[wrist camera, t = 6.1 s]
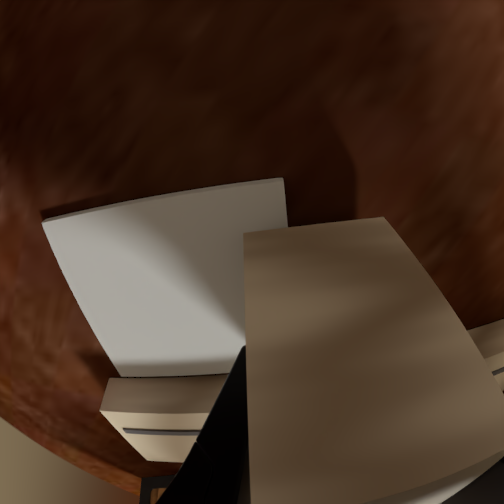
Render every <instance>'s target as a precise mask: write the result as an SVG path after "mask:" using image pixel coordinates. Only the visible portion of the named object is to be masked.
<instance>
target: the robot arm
mask: <svg viewBox="0 0 504 504" xmlns="http://www.w3.org/2000/svg"><path fill="white" fill-rule="evenodd" d="M196 441H197V442H194V444H193V446H192V448H191V450H190V452H189V454H188V455H187V457H186V459H185V461H184V462H183V464H182V466H181V468H180V469H179V471H178V472H177V474H176V475H175V477H174V478H173V480H172V481H171V482H170V484H169V485H168V487H167V488H166V489H165V491H164V492H163V493H162V495H161V496H160V497H159V499H158V500H157V502H156V503H155V504H251V493H250V466H249V437H248V406H247V372H246V345H244V346H242V348H241V349H240V352H239V354H238V356H237V358H236V360H235V362H234V364H233V366H232V368H231V370H230V372H229V374H228V376H227V378H226V380H225V382H224V384H223V386H222V389H221V391H220V393H219V395H218V397H217V399H216V401H215V403H214V405H213V407H212V409H211V411H210V413H209V415H208V417H207V419H206V421H205V423H204V425H203V427H202V429H201V430H200V432H199V434H198V436H197V438H196ZM440 504H504V456H503V457H502V458H501V459H500V460H499V461H498V462H496V463H495V464H494V465H493V466H492V467H490V468H489V469H488V470H487V471H485V472H484V473H483V474H482V475H480V476H479V477H478V478H476V479H475V480H474V481H472V482H471V483H470V484H468V485H467V486H465V487H464V488H463V489H461V490H460V491H458V492H457V493H455V494H454V495H452V496H451V497H449V498H448V499H446V500H445V501H443V502H442V503H440Z"/></svg>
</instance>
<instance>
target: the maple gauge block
mask: <svg viewBox="0 0 504 504" xmlns="http://www.w3.org/2000/svg"><path fill="white" fill-rule="evenodd" d="M243 254H244V297H245V337H246V372H247V406H248V437H249V466H250V493H251V504H440V503H442V502H443V501H445V500H446V499H448V498H449V497H451V496H452V495H454V494H455V493H457V492H458V491H460V490H461V489H463V488H464V487H465V486H467V485H468V484H470V483H471V482H472V481H474V480H475V479H476V478H478V477H479V476H480V475H482V474H483V473H484V472H485V471H487V470H488V469H489V468H490V467H492V466H493V465H494V464H495V463H496V462H498V461H499V460H500V459H501V458H502V457H503V456H504V394H503V392H502V390H501V389H500V387H499V385H498V383H497V381H496V379H495V378H494V376H493V374H492V372H491V370H490V369H489V367H488V365H487V363H486V362H485V360H484V358H483V356H482V355H481V353H480V351H479V350H478V348H477V346H476V345H475V343H474V342H473V340H472V338H471V337H470V335H469V333H468V332H467V330H466V329H465V327H464V326H463V324H462V322H461V321H460V319H459V318H458V316H457V315H456V313H455V312H454V310H453V309H452V307H451V306H450V304H449V303H448V301H447V300H446V298H445V297H444V296H443V294H442V293H441V291H440V290H439V288H438V287H437V286H436V284H435V283H434V281H433V280H432V279H431V277H430V276H429V274H428V273H427V272H426V270H425V269H424V268H423V266H422V265H421V264H420V262H419V261H418V260H417V258H416V257H415V256H414V254H413V253H412V252H411V250H410V249H409V248H408V247H407V245H406V244H405V243H404V241H403V240H402V239H401V238H400V236H399V235H398V234H397V233H396V231H395V230H394V229H393V228H392V226H391V225H390V224H389V223H388V222H387V220H386V219H385V218H384V217H377V218H368V219H359V220H349V221H340V222H331V223H322V224H314V225H305V226H296V227H288V228H280V229H271V230H263V231H255V232H247V233H243Z"/></svg>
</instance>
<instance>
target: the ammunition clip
mask: <svg viewBox="0 0 504 504" xmlns="http://www.w3.org/2000/svg"><path fill="white" fill-rule="evenodd" d="M174 477H175V475H168V476H159V477H147V478H142V481H141V491H140V502H139V504H155V503H156V502H157V500H158V499H159V497H160V496H161V495H162V493H163V492H164V491H165V489H166V488H167V487H168V485H169V484H170V482H171V481H172V480H173V478H174Z"/></svg>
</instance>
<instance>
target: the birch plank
mask: <svg viewBox="0 0 504 504" xmlns="http://www.w3.org/2000/svg"><path fill="white" fill-rule="evenodd" d="M467 332H468V333H469V335H470V337H471V338H472V340H473V342H474V343H475V345H476V346H477V348H478V350H479V351H480V353H481V355H482V356H483V358H484V360H485V362H486V363H487V365H488V367H489V369H490V370H491V372H492V374H493V376H494V378H495V379H496V381H497V383H498V385H499V387H500V389H501V390H502V391H503V390H504V319H502V320H499V321H496V322H493V323H490V324H487V325H484V326H480V327H477V328H474V329H471V330H467ZM227 376H228V374H226V375H212V376H195V377H171V378H109V380H108V384H107V387H106V390H105V394H104V397H103V400H102V404H101V407H100V412H101V413H102V414H103V415H104V416H105V417H106V419H107V420H108V421H109V422H110V423H111V424H112V425H113V426H114V427H115V428H116V430H117V431H118V432H119V433H120V434H121V435H122V436H123V437H124V438H125V439H126V440H127V441H128V442H129V443H130V444H131V445H132V446H133V447H134V448H135V449H136V450H137V451H138V452H139V453H140V454H141V455H142V456H143V457H144V458H145V459H146V460H147V461H162V462H184V461H185V459H186V457H187V455H188V454H189V452H190V450H191V448H192V446H193V444H194V442H197V441H196V438H197V436H198V434H199V432H200V430H201V429H202V427H203V425H204V423H205V421H206V419H207V417H208V415H209V413H210V411H211V409H212V407H213V405H214V403H215V401H216V399H217V397H218V395H219V393H220V391H221V389H222V386H223V384H224V382H225V380H226V378H227Z"/></svg>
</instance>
